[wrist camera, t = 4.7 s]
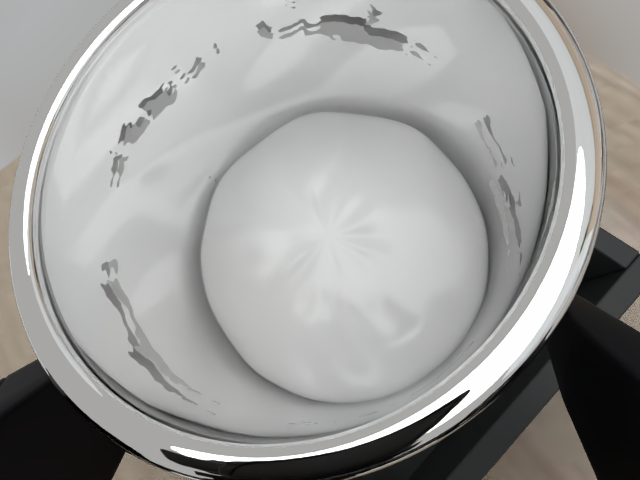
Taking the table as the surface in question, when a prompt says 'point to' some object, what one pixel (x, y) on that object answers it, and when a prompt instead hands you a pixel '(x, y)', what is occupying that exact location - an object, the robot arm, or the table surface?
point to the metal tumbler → (304, 224)
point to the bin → (522, 383)
